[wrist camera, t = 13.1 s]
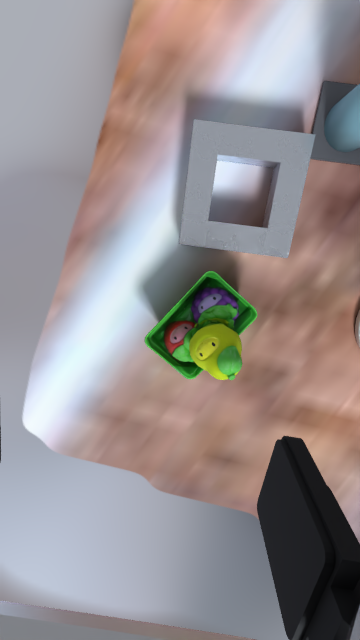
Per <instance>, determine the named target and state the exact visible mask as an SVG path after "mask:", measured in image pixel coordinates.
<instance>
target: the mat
mask: <svg viewBox="0 0 360 640" xmlns="http://www.w3.org/2000/svg"><path fill="white" fill-rule="evenodd" d="M356 86H357V85H354V84H346V83H338V82H330V81H324V82H323V86H322V90H321V95H320V99H319V104H318V108H317V113H316V117H315V122H314V126H313V131H312V134H315V139H314V144H313V148H312V153H311V157H310V159H315V160H323V161H330V162H338V163H346V164H354V165H360V148H358V149H356V150H353V151H350V152H341V151H337V150H335V149H334V148H332V147H331V146H330V145H329V143H328V142H327V140H326V137H325V133H324V125H325V121H326V118H327V115H328V113H329V112H330V110H331V109H332V108H333V106H334V105H335V104H337V103H338V102H339V101H340V100H341V99H342V98H343V97H345V96H346V95H347V94H348V93H349V92H350V91H352V90H353V89H354V88H355V87H356Z"/></svg>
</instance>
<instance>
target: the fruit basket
mask: <svg viewBox="0 0 360 640" xmlns="http://www.w3.org/2000/svg"><path fill="white" fill-rule="evenodd" d="M256 317H257V311H256V309H255V308H254V307H253V306H252V305H251V304H249V303H248V302H247V301H246V300H245V299H244V298H243V297H242V296H241V295H240V294H239V293H237V292H236V291H235V290H234V289H233V288H232V287H231V286H230V285H229V284H228V283H227V282H226V281H225V280H224V279H222V278H221V277H220V276H219V275H218V274H217V273H216V272H214V271H208V272H206V273H205V274H204V275H203V276H202V277H201V278H200V279H199V280H198V281H197V282H196V283H195V285H194V286H193V287H192V288H191V289H190V290H189V291H188V292H187V293H186V294H185V295H184V296H183V297H182V298H181V300H180V301H179V302H178V303H177V304H176V305H175V306H174V307H173V308H172V309H171V310H170V311H169V312H168V313H167V314H166V315H165V316H164V317H163V319H162V320H161V321H160V322H159V323H158V324H157V325H156V326H155V327H154V328H153V329H152V330H151V331H150V332H149V333H148V334H147V336H146V337H145V343H146V345H147V346H148V347H149V348H150V349H151V350H153V351H154V352H155V353H156V354H158V355H159V356H160V357H161V358H163V359H164V360H165V361H166V362H167V363H169V364H170V365H171V366H172V367H173V368H174V369H176V370H177V371H178V372H179V373H180V374H181V375H183V376H184V377H185V378H187V379H194V378H195V377H196V376H198V375H199V374H200V373H201V372H202V371H203V370H206V371H208V372H209V373H210V374H211V375H212V376H213V377H214V378H216V379H220V380H225V379H229V380H233V379H234V378H235V375H236V374H237V373H238V372H239V371H240V369H241V367H242V359H241V351H242V345H241V340H240V338H239V335H240V334H241V333H242V332H243V331H244V330H245V329H246V328H247V327H248V326H249V325H250V324H251V323H252V322H253V321H254V320H255V319H256Z"/></svg>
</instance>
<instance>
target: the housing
mask: <svg viewBox="0 0 360 640" xmlns="http://www.w3.org/2000/svg"><path fill="white" fill-rule="evenodd" d="M314 139H315V134H307V133H299V132H291V131H283V130H275V129H267V128H259V127H252V126H244V125H236V124H228V123H220V122H212V121H204V120H196V119H194V122H193V131H192V139H191V148H190V156H189V164H188V173H187V181H186V190H185V198H184V206H183V215H182V223H181V232H180V240H179V244H183V245H191V246H198V247H206V248H214V249H221V250H229V251H237V252H245V253H252V254H260V255H268V256H275V257H283V258H288V255H289V251H290V246H291V242H292V237H293V233H294V229H295V224H296V220H297V215H298V211H299V206H300V202H301V197H302V193H303V188H304V184H305V180H306V175H307V171H308V166H309V162H310V157H311V153H312V148H313V144H314ZM217 161H225V162H233V163H240V164H248V165H256V166H264V167H272V168H273V174H272V179H271V184H270V189H269V194H268V199H267V204H266V210H265V215H264V220H263V225H262V228H261V227H254V226H246V225H238V224H230V223H223V222H215V221H208V218H209V211H210V204H211V197H212V190H213V183H214V176H215V169H216V163H217Z"/></svg>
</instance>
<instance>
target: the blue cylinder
mask: <svg viewBox="0 0 360 640" xmlns="http://www.w3.org/2000/svg"><path fill="white" fill-rule="evenodd" d="M324 133H325V137H326V140H327V142H328V143H329V145H330V146H331V147H332V148H334V149H335V150H337V151H341V152H350V151H353V150H356V149H358V148H360V84H359V85H357V86H356V87H355V88H354V89H353V90H352V91H350V92H349V93H348V94H347V95H346V96H345V97H343V98H342V99H341V100H340V101H339V102H338V103H337V104H335V105H334V106H333V108H332V109H331V110H330V112H329V113H328V115H327V118H326V121H325V125H324Z"/></svg>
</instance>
